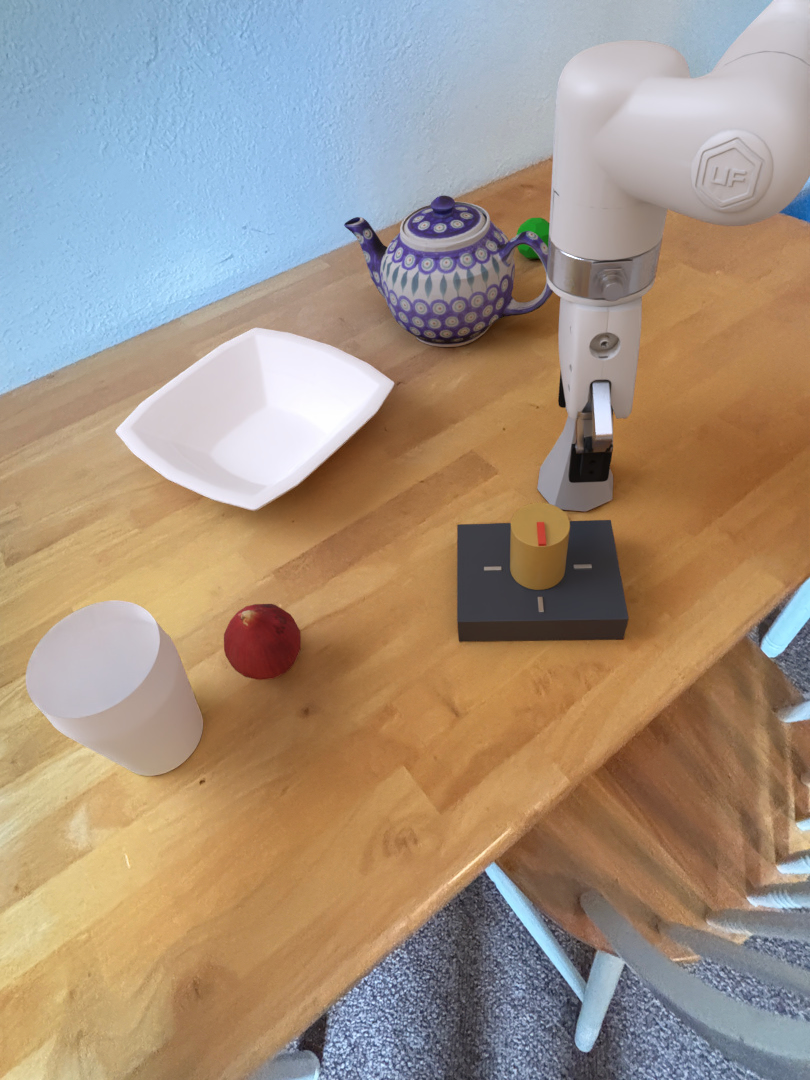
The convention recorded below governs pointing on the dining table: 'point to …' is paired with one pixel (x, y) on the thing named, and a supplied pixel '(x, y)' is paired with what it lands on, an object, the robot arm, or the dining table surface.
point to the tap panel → (539, 615)
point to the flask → (557, 480)
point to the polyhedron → (537, 227)
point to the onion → (262, 641)
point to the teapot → (448, 271)
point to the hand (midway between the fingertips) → (581, 440)
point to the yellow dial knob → (539, 545)
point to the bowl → (255, 416)
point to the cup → (117, 687)
